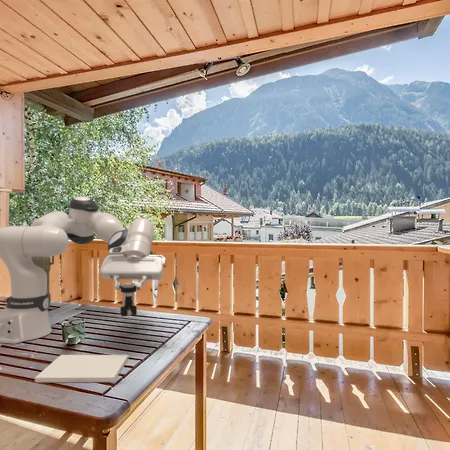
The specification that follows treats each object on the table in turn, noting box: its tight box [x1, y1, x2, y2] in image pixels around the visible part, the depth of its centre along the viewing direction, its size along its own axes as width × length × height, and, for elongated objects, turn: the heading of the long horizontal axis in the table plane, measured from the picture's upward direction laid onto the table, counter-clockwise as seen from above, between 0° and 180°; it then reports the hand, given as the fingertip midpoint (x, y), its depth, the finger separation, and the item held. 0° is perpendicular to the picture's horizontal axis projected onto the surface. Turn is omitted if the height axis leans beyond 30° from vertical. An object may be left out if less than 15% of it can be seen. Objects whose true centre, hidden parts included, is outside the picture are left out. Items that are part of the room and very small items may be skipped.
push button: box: [115, 282, 138, 317], centre depth 103 cm, size 7×5×10 cm
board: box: [34, 354, 129, 383], centre depth 90 cm, size 20×14×1 cm
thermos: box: [31, 256, 55, 309], centre depth 152 cm, size 9×12×35 cm
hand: (128, 288), depth 103 cm, fingers closed on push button, 5 cm apart
